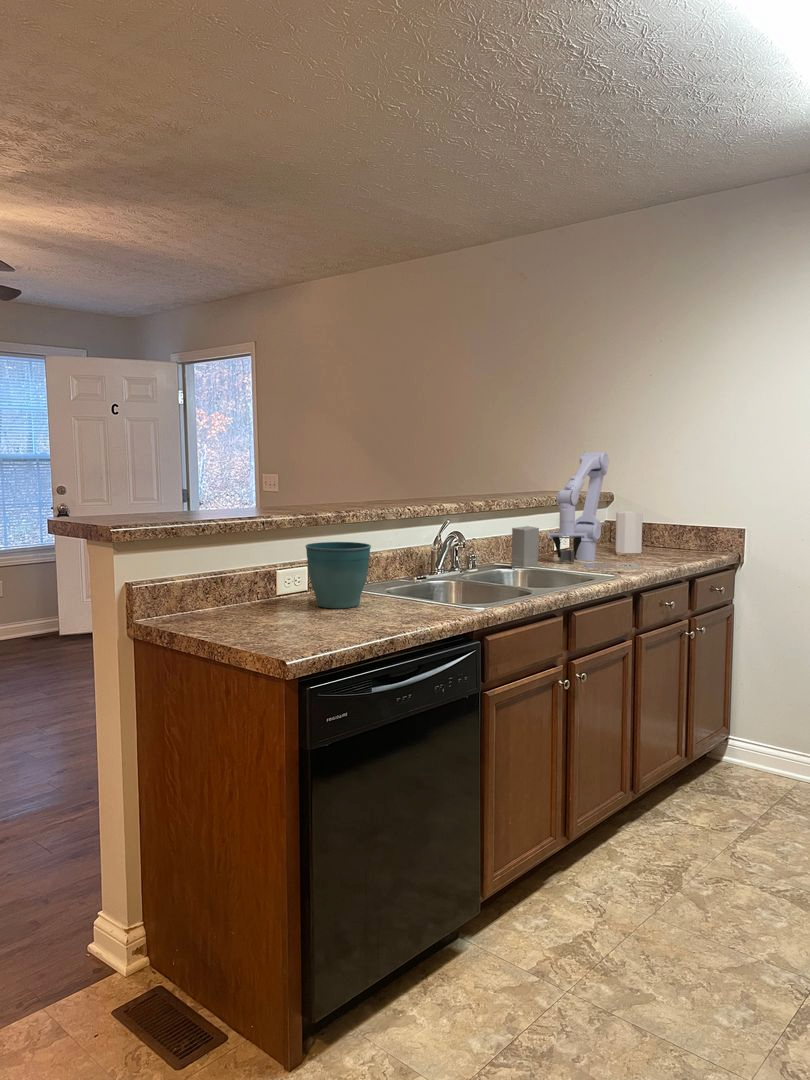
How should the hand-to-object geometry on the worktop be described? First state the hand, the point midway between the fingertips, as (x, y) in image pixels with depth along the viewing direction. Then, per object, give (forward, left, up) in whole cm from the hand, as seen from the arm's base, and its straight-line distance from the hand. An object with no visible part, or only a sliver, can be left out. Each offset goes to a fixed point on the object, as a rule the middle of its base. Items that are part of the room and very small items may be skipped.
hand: (566, 557), depth 304 cm
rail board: (+5, +16, -4) cm, 17 cm away
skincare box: (+7, -16, -4) cm, 18 cm away
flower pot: (+87, -72, -4) cm, 113 cm away
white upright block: (-44, +31, -4) cm, 54 cm away
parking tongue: (0, 0, -4) cm, 4 cm away
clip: (0, 0, -1) cm, 1 cm away
